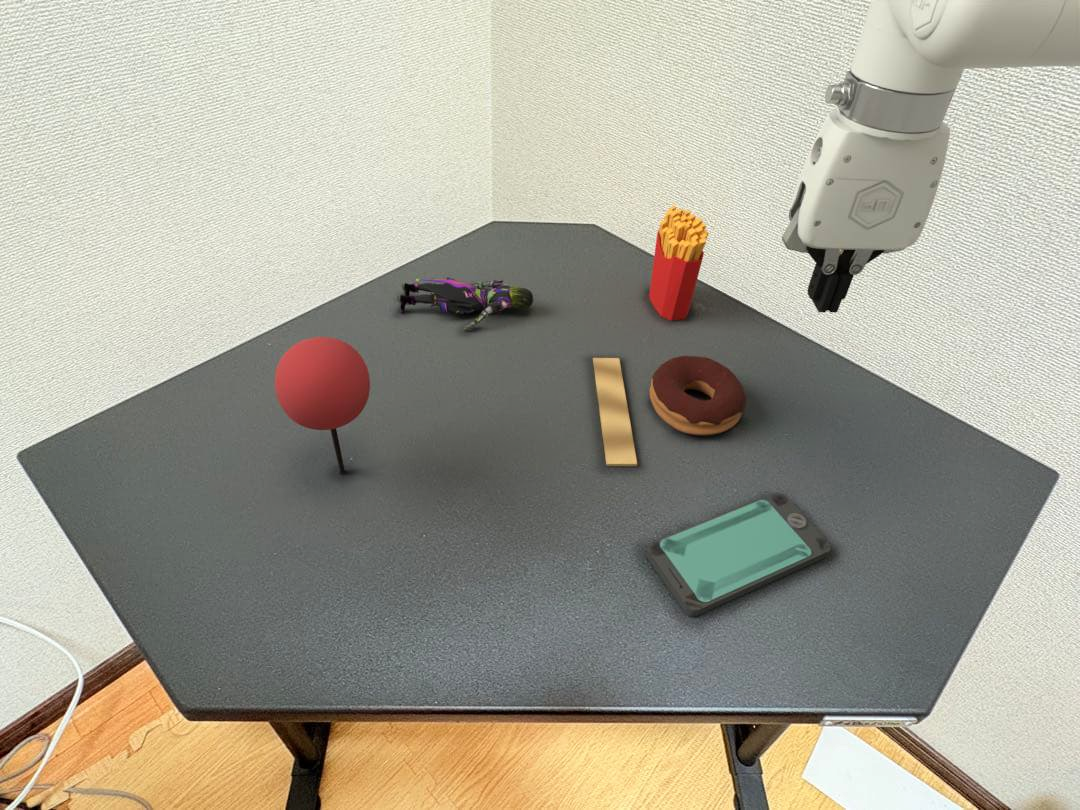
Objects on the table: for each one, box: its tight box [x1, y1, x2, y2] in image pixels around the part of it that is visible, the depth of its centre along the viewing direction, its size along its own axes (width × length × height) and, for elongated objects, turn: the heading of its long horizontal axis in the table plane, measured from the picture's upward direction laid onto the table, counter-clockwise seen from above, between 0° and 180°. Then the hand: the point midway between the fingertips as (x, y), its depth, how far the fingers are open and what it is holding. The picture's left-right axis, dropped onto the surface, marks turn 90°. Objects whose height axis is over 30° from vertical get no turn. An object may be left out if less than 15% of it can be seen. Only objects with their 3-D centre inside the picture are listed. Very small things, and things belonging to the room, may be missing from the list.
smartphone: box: [645, 492, 831, 618], centre depth 63 cm, size 7×1×15 cm
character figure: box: [397, 276, 534, 331], centre depth 87 cm, size 9×4×16 cm
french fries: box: [648, 204, 709, 322], centre depth 86 cm, size 8×4×12 cm, turn 15°
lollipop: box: [274, 336, 371, 476], centre depth 64 cm, size 8×8×15 cm
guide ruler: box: [592, 357, 638, 467], centre depth 76 cm, size 16×3×1 cm, turn 2°
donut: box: [649, 355, 747, 436], centre depth 76 cm, size 10×10×4 cm
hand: (822, 303), depth 67 cm, fingers closed
